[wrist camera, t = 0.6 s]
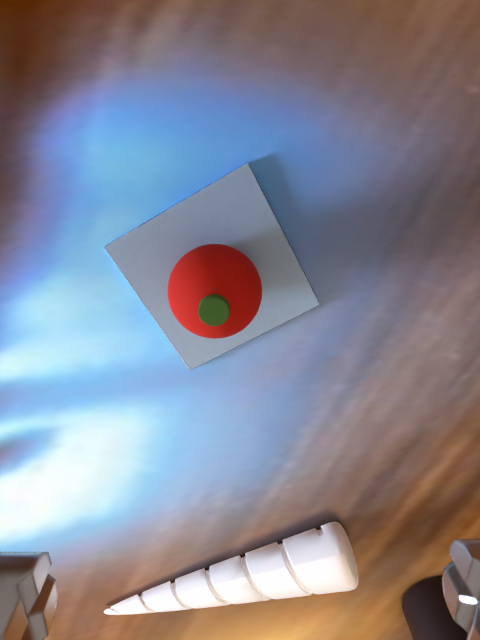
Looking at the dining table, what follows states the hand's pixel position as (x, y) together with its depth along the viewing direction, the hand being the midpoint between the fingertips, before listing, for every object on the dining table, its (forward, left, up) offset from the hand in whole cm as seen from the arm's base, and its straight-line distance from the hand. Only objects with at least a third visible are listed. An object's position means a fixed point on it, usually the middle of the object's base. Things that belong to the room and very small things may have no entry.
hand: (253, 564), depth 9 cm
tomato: (0, -1, -20) cm, 20 cm away
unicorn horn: (+28, 0, -20) cm, 34 cm away
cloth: (0, -1, -20) cm, 20 cm away
